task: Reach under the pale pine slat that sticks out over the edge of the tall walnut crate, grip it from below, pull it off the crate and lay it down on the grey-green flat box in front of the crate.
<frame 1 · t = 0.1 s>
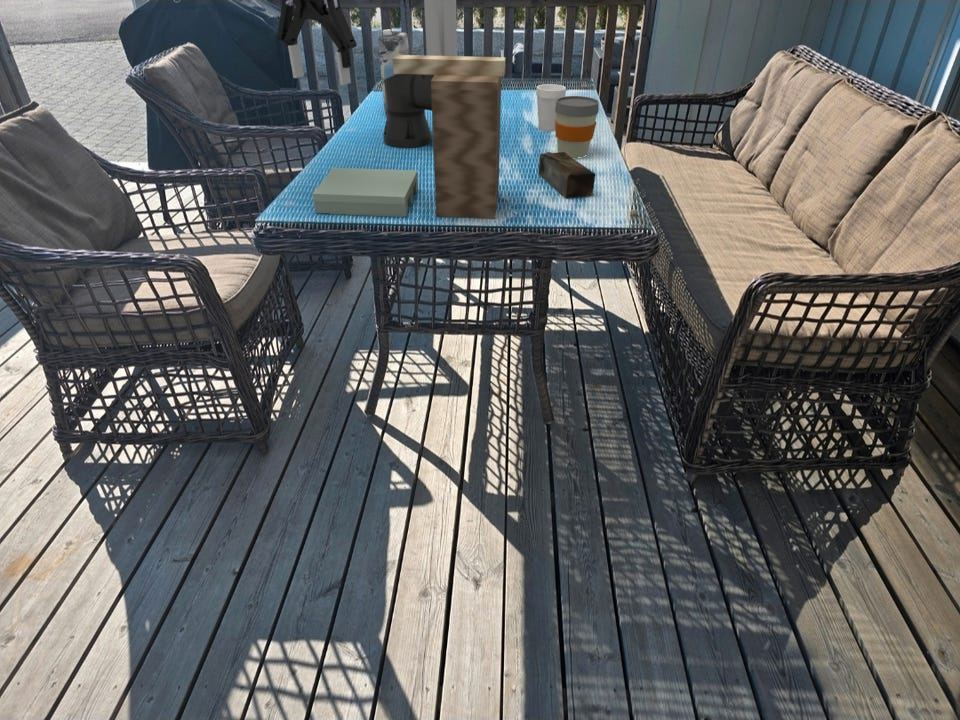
hand: (321, 80, 133), 28 cm above the table, tool pointing down, fingers open, 13 cm apart
reusable coffee cup: (572, 154, 180), on the table
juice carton: (399, 115, 213), on the table
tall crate: (468, 204, 148), on the table
beverage carton: (564, 186, 160), on the table
pine slat: (449, 73, 130), point 30 cm above the table, touching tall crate
grey-green flat box: (369, 201, 150), on the table
foam cup: (548, 129, 201), on the table
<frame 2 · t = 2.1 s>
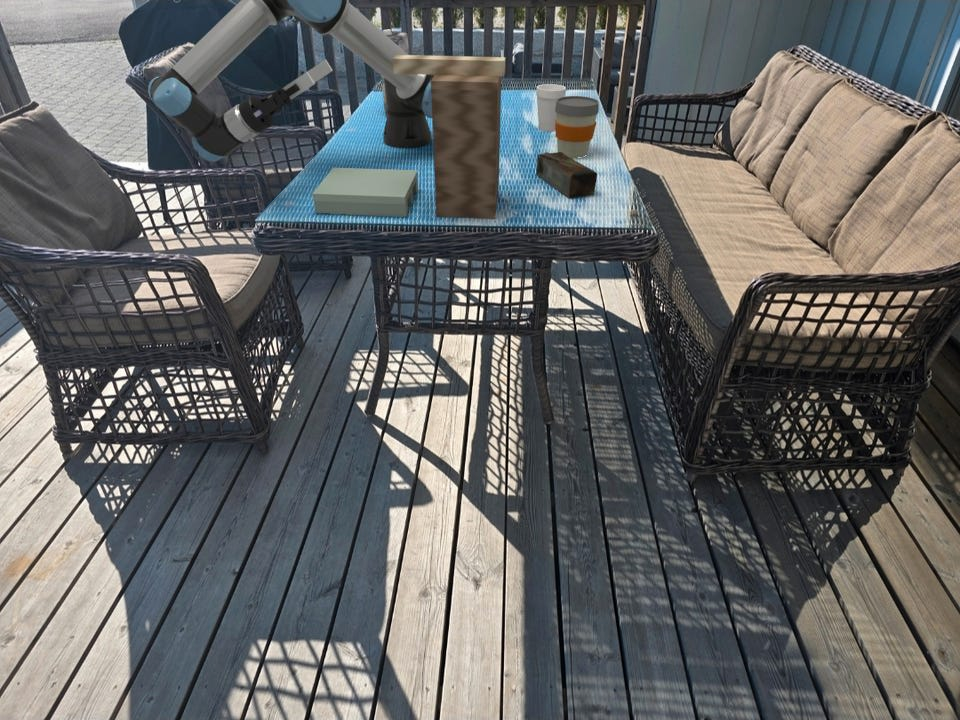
hand: (320, 71, 132), 30 cm above the table, tool pointing upward, fingers open, 13 cm apart
nothing on the table moved.
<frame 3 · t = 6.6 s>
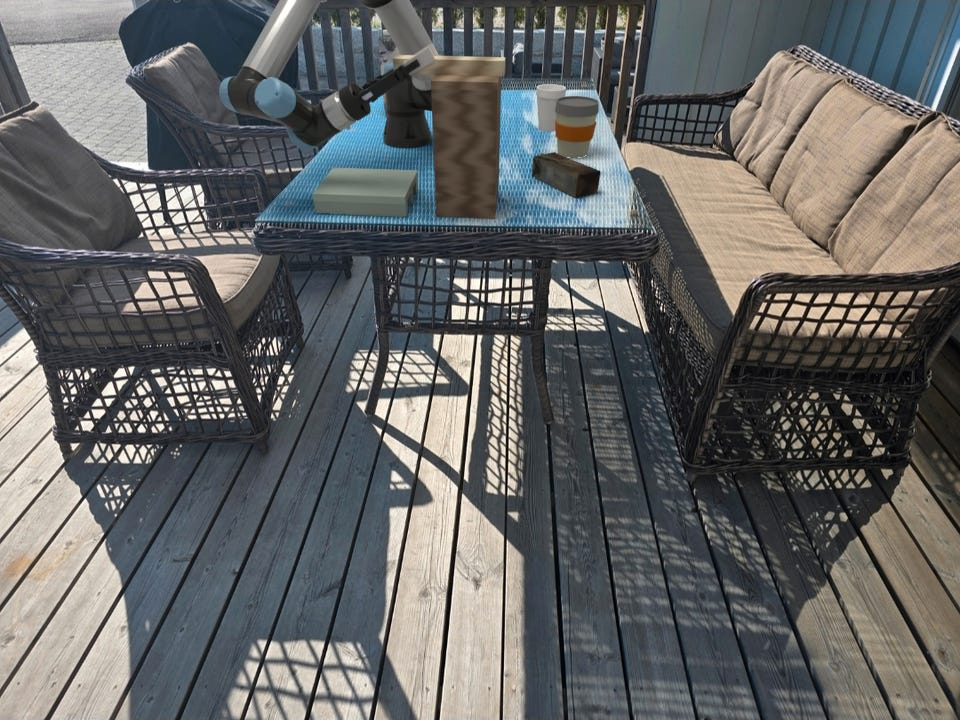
hand: (433, 51, 128), 34 cm above the table, tool pointing upward, fingers closed on pine slat, 4 cm apart
pine slat: (449, 73, 130), point 30 cm above the table, touching gripper, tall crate
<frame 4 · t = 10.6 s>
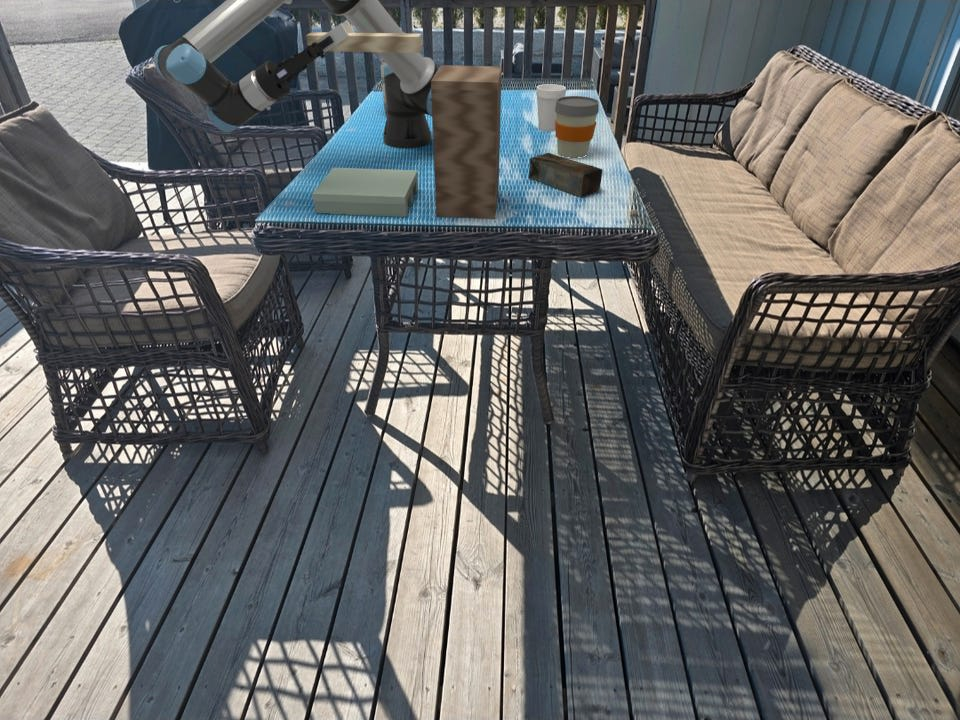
hand: (347, 28, 126), 38 cm above the table, tool pointing upward, fingers closed on pine slat, 4 cm apart
pine slat: (365, 50, 129), point 34 cm above the table, touching gripper
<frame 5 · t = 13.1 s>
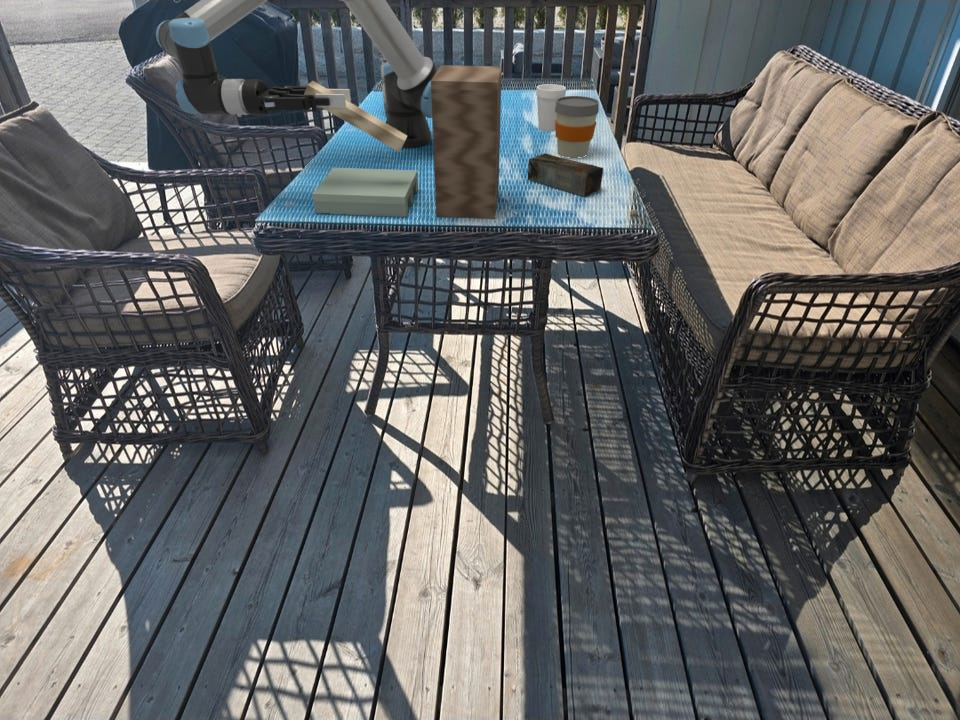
hand: (347, 98, 135), 24 cm above the table, tool horizontal, fingers closed on pine slat, 4 cm apart
pine slat: (354, 122, 138), point 19 cm above the table, tilted 29°, touching gripper
when the fingers open (17 cm above the table, at t = 15.0 s): pine slat drops 7 cm, resting on grey-green flat box.
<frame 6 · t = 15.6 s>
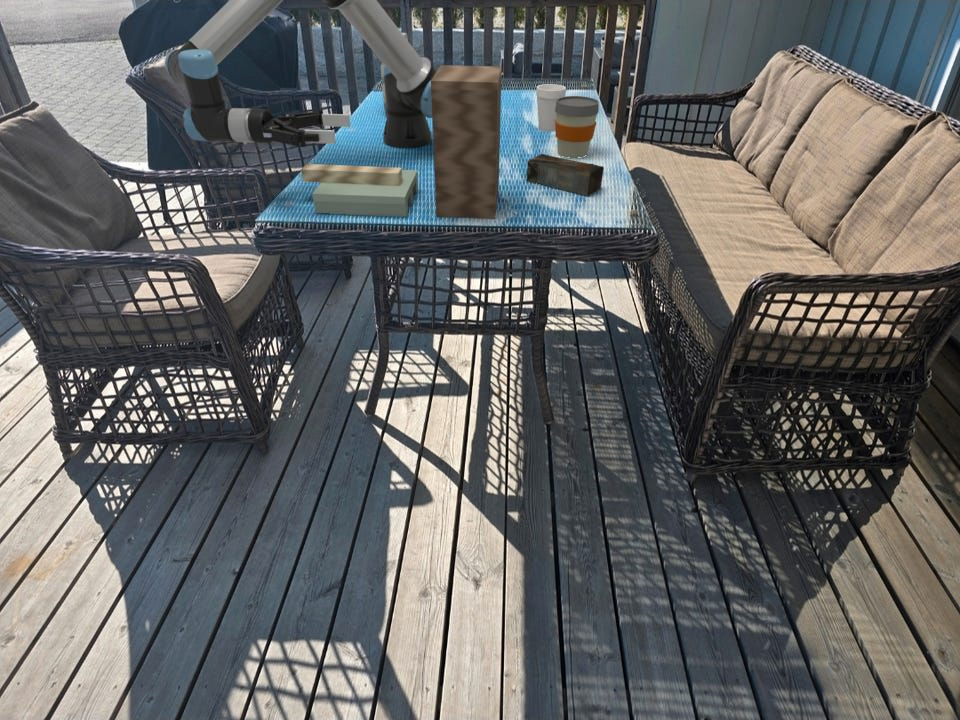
hand: (342, 128, 139), 17 cm above the table, tool horizontal, fingers open, 13 cm apart
pine slat: (353, 180, 147), point 5 cm above the table, touching grey-green flat box
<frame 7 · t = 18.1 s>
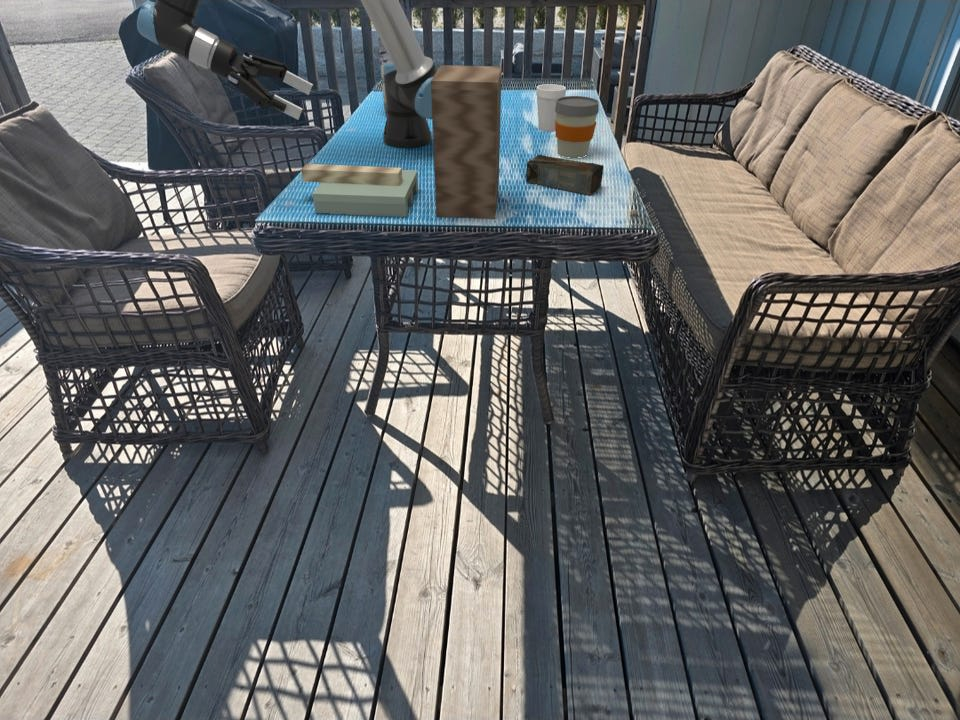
hand: (306, 101, 143), 22 cm above the table, tool tilted 60°, fingers open, 13 cm apart
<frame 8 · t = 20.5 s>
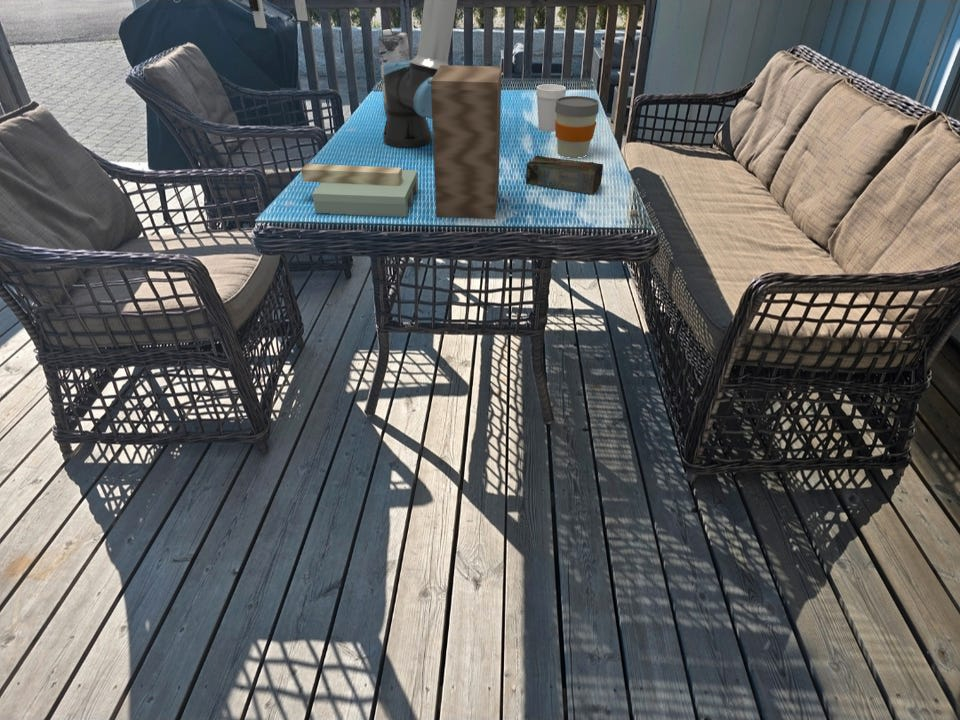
hand: (282, 23, 141), 37 cm above the table, tool pointing down, fingers open, 13 cm apart
at the end: pine slat touching grey-green flat box; pine slat point 5.0 cm above the table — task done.
